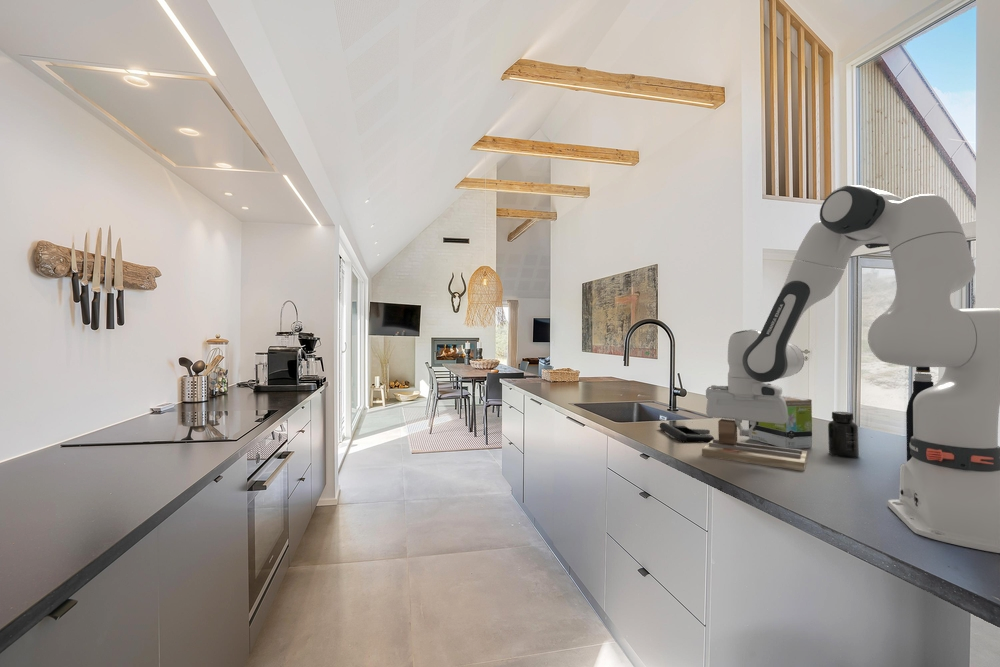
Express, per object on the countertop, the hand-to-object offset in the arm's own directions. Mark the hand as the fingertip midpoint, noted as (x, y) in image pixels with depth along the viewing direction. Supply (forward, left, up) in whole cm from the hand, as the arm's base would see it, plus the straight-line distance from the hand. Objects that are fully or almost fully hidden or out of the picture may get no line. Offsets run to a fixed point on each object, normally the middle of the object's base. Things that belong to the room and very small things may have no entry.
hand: (745, 436), depth 126 cm
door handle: (+17, +20, -6) cm, 27 cm away
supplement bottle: (+17, -22, -6) cm, 28 cm away
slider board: (0, -2, -6) cm, 6 cm away
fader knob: (0, +5, -3) cm, 6 cm away
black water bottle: (+11, -38, -6) cm, 40 cm away
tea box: (+23, -6, -6) cm, 24 cm away
